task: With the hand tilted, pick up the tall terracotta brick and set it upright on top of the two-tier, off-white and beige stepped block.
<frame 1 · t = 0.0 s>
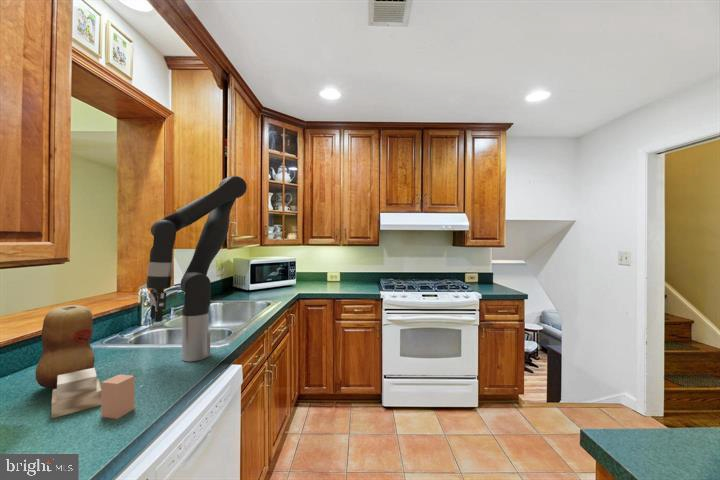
hand: (155, 319, 115), 17 cm above the worktop, tool pointing down, fingers open, 8 cm apart
beige stepped block: (76, 404, 89), on the worktop
butternut squash: (67, 386, 100), on the worktop
terracotta brick: (118, 412, 85), on the worktop
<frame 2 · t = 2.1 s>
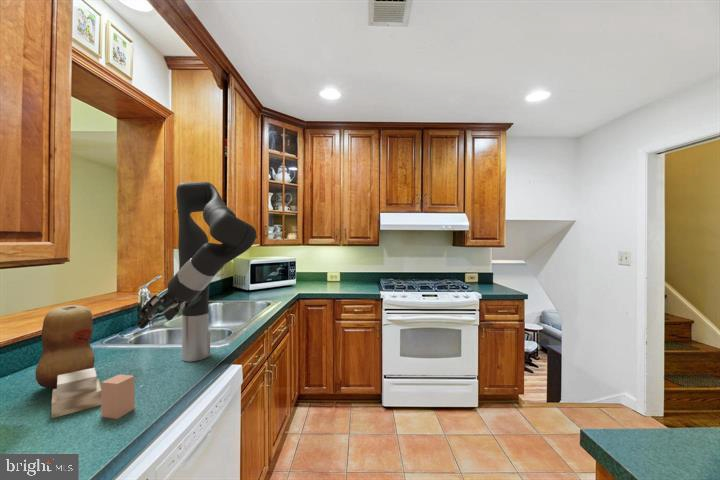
hand: (154, 321, 82), 25 cm above the worktop, tool tilted 45°, fingers open, 8 cm apart
nothing on the worktop moved.
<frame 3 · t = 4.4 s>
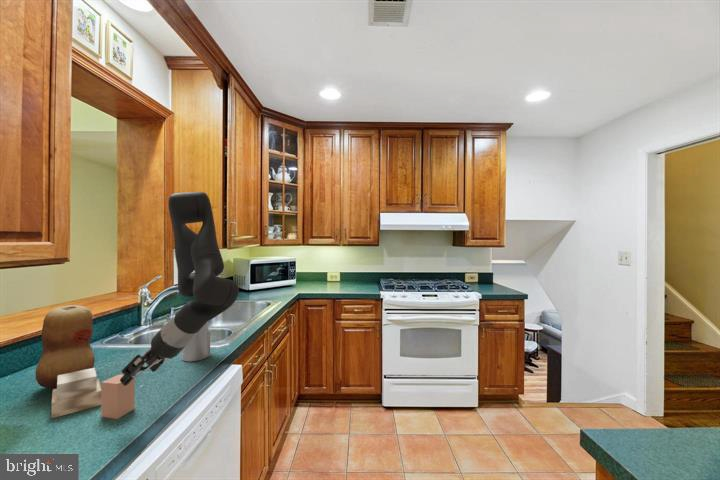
hand: (138, 375, 84), 10 cm above the worktop, tool tilted 45°, fingers open, 8 cm apart
nothing on the worktop moved.
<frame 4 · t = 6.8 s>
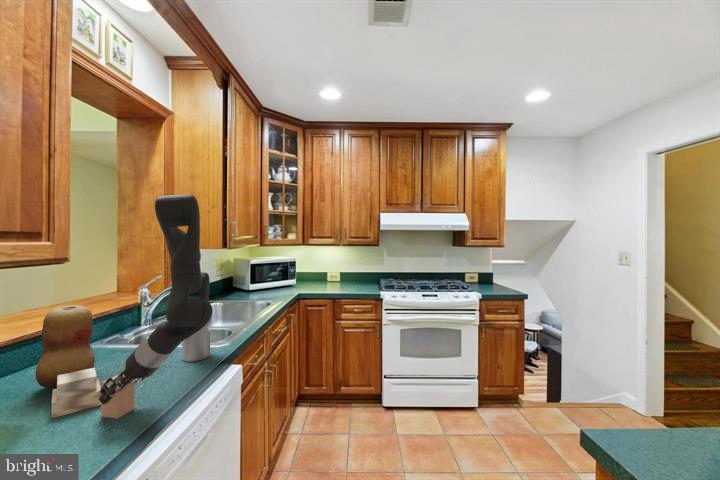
hand: (112, 396, 85), 4 cm above the worktop, tool tilted 45°, fingers closed on terracotta brick, 5 cm apart
terracotta brick: (118, 412, 85), on the worktop, touching gripper
everything else where it was.
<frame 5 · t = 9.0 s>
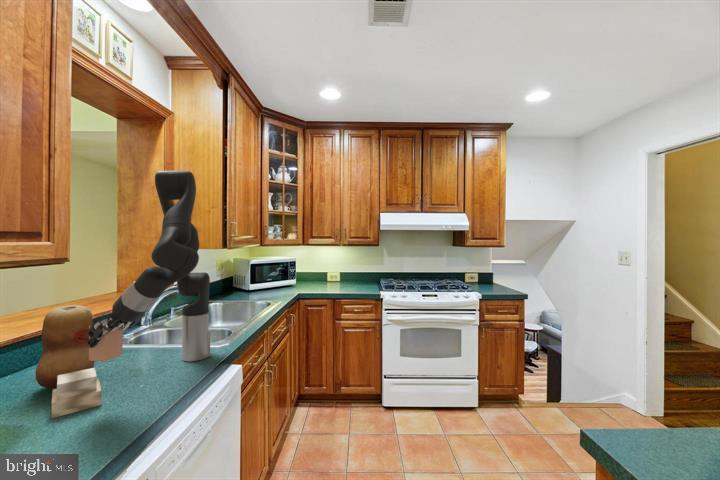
hand: (100, 341, 87), 18 cm above the worktop, tool tilted 45°, fingers closed on terracotta brick, 5 cm apart
terracotta brick: (106, 357, 87), point 14 cm above the worktop, touching gripper
everything else where it was.
when the fingers open (14 cm above the worktop, at t = 11.3 s): terracotta brick drops 1 cm, resting on beige stepped block.
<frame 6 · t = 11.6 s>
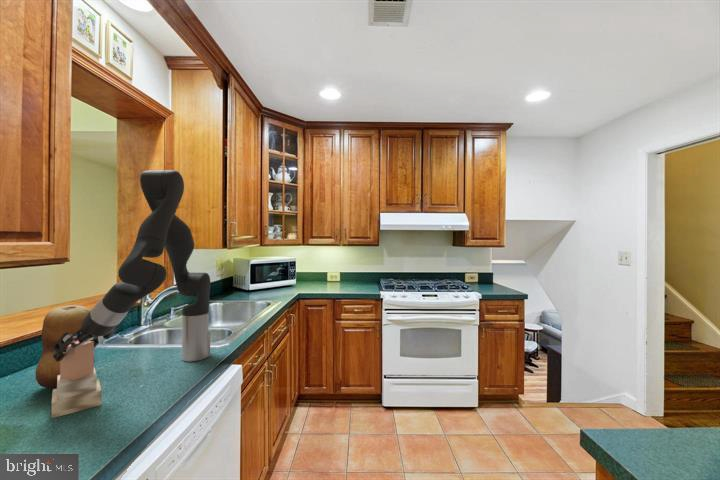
hand: (73, 353, 89), 14 cm above the worktop, tool tilted 45°, fingers open, 8 cm apart
terracotta brick: (77, 375, 89), point 8 cm above the worktop, touching beige stepped block
everything else where it was.
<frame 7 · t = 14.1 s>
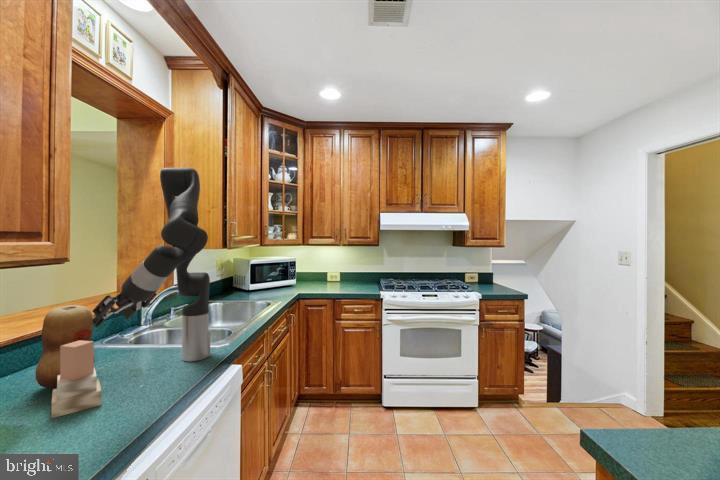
hand: (111, 320, 87), 24 cm above the worktop, tool tilted 45°, fingers open, 8 cm apart
nothing on the worktop moved.
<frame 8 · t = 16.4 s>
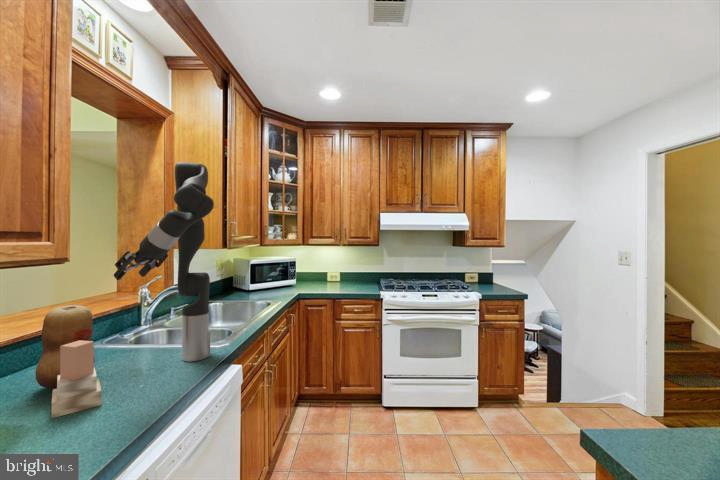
hand: (129, 276, 100), 35 cm above the worktop, tool tilted 45°, fingers open, 8 cm apart
nothing on the worktop moved.
at the end: terracotta brick inside the target area on the beige stepped block (0.0 cm from its centre), point 8.0 cm above the beige stepped block's base; terracotta brick tilted 0°; the gripper is holding nothing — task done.
